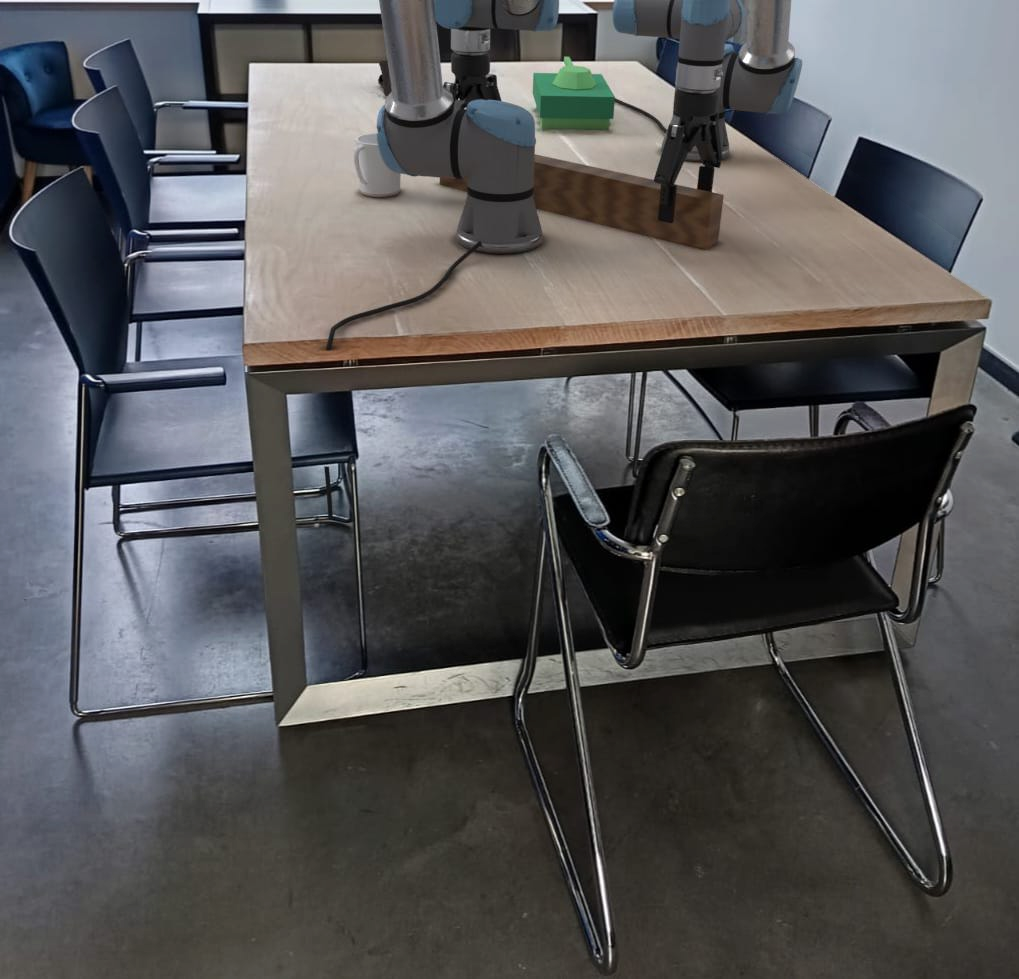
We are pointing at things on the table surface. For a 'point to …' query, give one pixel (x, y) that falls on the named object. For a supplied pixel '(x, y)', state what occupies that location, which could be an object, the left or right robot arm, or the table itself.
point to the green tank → (573, 99)
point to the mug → (373, 169)
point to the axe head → (385, 78)
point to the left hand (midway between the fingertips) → (470, 164)
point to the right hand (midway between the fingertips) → (684, 212)
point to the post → (621, 201)
